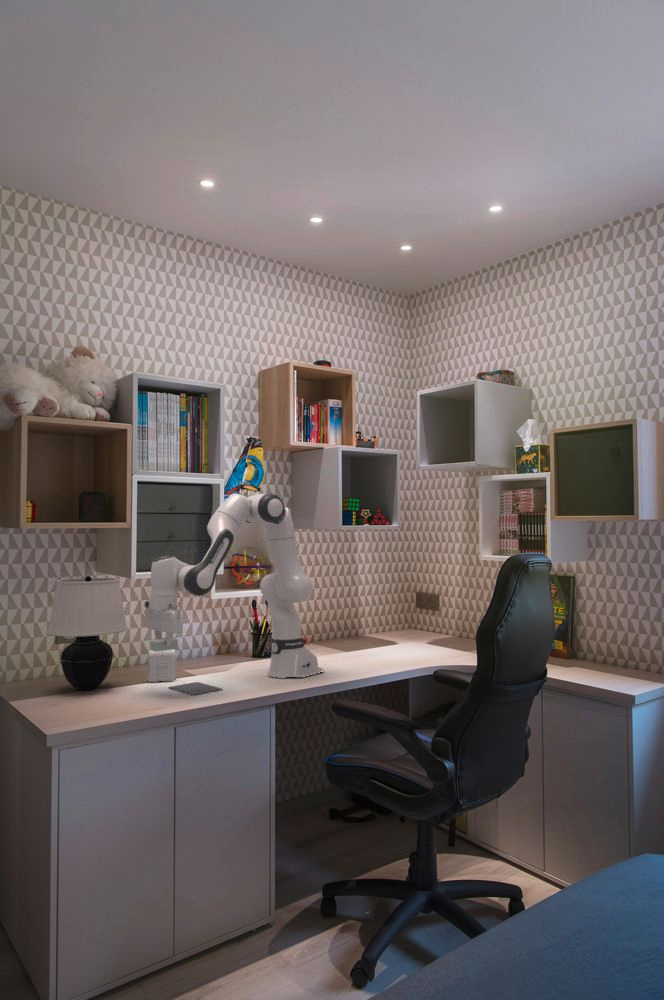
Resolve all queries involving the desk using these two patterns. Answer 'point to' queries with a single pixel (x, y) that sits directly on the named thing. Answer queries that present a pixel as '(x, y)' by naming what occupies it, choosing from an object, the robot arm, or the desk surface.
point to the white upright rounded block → (162, 665)
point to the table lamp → (87, 627)
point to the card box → (163, 644)
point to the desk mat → (195, 688)
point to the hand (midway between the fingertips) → (163, 644)
